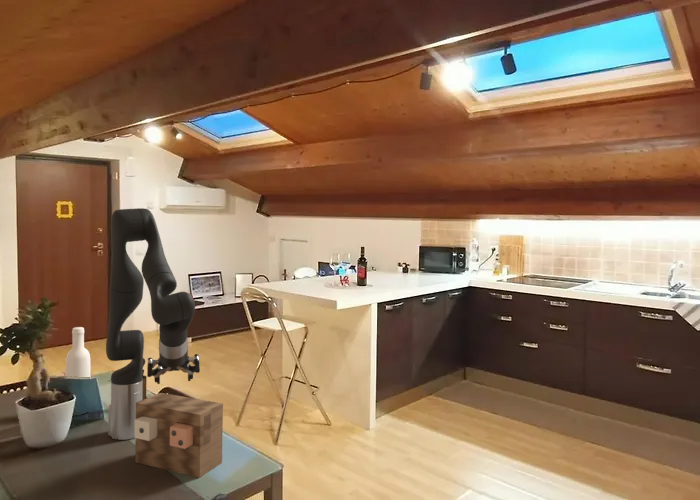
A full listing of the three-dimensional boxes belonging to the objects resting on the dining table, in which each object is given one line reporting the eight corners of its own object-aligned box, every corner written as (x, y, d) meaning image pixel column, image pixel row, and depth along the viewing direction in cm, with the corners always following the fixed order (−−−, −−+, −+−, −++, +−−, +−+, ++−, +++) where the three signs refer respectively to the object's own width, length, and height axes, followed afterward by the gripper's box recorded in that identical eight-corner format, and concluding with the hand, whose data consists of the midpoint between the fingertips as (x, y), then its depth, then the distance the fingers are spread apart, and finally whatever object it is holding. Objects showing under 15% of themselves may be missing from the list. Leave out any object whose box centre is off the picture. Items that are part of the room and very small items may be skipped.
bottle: (64, 417, 183) (64, 330, 182) (66, 410, 191) (66, 326, 189) (90, 414, 187) (90, 329, 185) (91, 407, 194) (91, 325, 192)
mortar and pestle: (143, 410, 192) (143, 360, 191) (127, 408, 193) (127, 359, 193) (153, 404, 199) (154, 356, 198) (137, 403, 200) (138, 355, 199)
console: (135, 462, 151) (135, 402, 150) (160, 448, 160) (160, 392, 159) (199, 477, 143) (200, 414, 142) (222, 462, 152) (222, 403, 151)
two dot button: (169, 445, 142) (169, 427, 142) (182, 438, 147) (182, 420, 147) (184, 449, 140) (184, 430, 140) (197, 441, 145) (197, 423, 145)
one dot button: (134, 438, 146) (134, 420, 146) (147, 431, 151) (147, 414, 151) (148, 441, 145) (148, 422, 144) (161, 434, 149) (162, 416, 149)
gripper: (199, 334, 151) (198, 367, 162) (145, 337, 146) (148, 371, 157) (201, 356, 146) (199, 388, 157) (145, 360, 141) (147, 393, 152)
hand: (173, 379), depth 157 cm, fingers open, 8 cm apart
